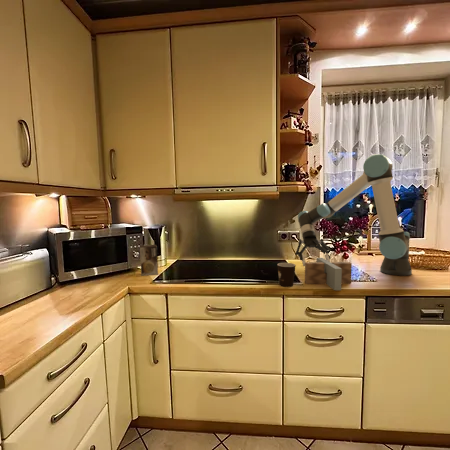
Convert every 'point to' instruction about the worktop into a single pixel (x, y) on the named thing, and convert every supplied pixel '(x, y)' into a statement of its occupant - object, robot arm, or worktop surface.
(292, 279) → the coffee mug
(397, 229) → the robot arm
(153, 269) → the coffee box
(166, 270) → the worktop surface
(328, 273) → the grey plain narrow board
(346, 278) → the walnut slotted board
